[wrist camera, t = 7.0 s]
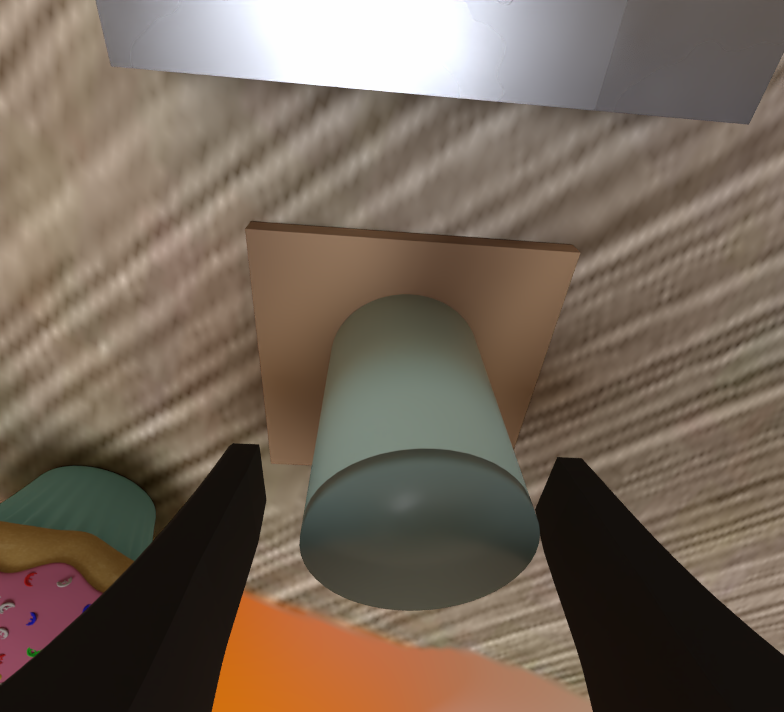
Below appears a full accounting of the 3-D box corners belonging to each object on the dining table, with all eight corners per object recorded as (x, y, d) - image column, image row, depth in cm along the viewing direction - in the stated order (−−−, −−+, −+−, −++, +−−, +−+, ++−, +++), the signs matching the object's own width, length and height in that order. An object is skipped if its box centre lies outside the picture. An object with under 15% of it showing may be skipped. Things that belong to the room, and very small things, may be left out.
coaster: (572, 244, 13) (580, 252, 12) (502, 461, 18) (505, 473, 17) (250, 221, 12) (244, 228, 12) (274, 451, 17) (271, 463, 17)
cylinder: (490, 299, 13) (571, 471, 7) (463, 419, 15) (509, 612, 10) (331, 289, 13) (295, 460, 7) (330, 412, 15) (302, 608, 10)
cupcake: (-39, 509, 19) (-498, 1012, 9) (21, 391, 15) (-630, 1013, 5) (155, 577, 22) (-26, 999, 12) (242, 492, 19) (85, 994, 9)
